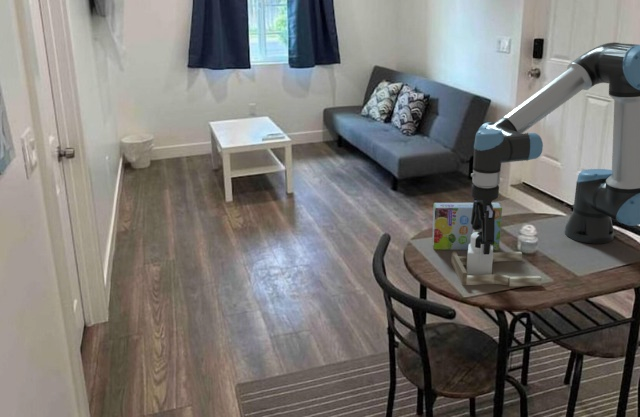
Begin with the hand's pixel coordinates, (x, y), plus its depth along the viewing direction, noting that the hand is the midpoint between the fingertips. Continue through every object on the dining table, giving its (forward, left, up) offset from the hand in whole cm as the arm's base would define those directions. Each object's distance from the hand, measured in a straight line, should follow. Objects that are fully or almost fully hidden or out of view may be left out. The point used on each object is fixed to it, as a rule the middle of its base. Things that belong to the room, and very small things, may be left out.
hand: (480, 256), depth 169 cm
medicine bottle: (0, 0, -5) cm, 5 cm away
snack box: (0, -19, -6) cm, 20 cm away
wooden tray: (-3, 0, -6) cm, 7 cm away
